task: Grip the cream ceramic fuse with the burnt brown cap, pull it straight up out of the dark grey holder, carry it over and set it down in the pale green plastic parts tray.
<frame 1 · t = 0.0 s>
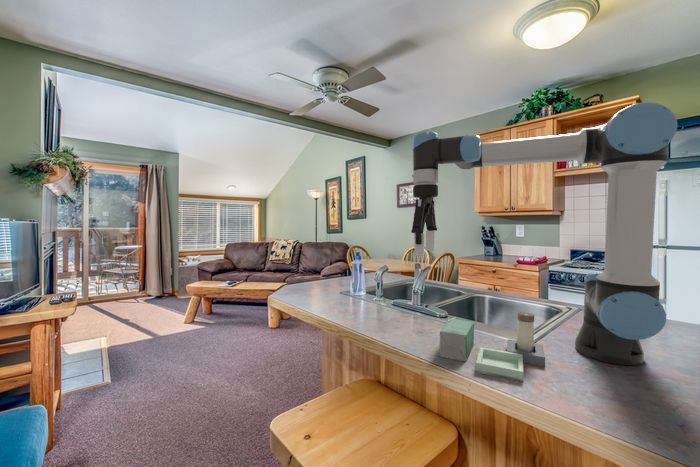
hand: (425, 252, 100), 28 cm above the counter, fingers open, 13 cm apart
tray: (499, 367, 83), on the counter
box: (457, 350, 94), on the counter
holder: (524, 356, 89), on the counter
fuse: (525, 335, 89), in the holder
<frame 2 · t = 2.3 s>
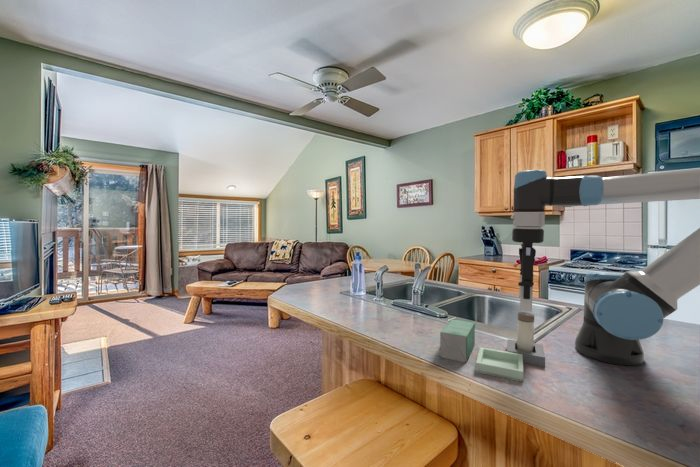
hand: (525, 304, 88), 15 cm above the counter, fingers open, 13 cm apart
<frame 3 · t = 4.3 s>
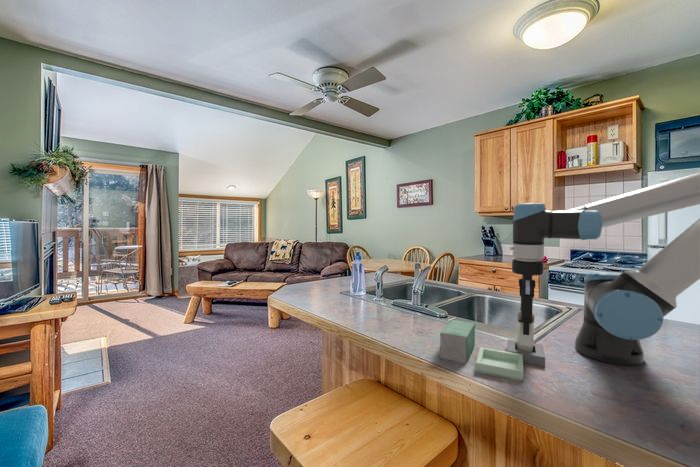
hand: (525, 341, 89), 4 cm above the counter, fingers closed on fuse, 4 cm apart
fuse: (525, 335, 89), in the holder, touching gripper
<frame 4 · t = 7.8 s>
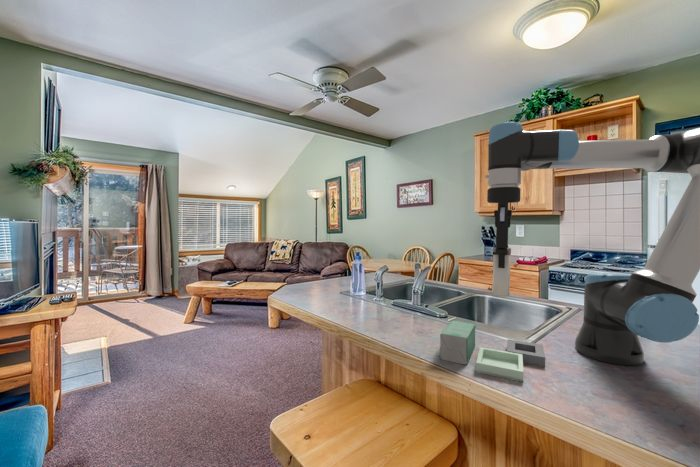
hand: (501, 278, 81), 24 cm above the counter, fingers closed on fuse, 4 cm apart
fuse: (501, 271, 81), point 25 cm above the counter, touching gripper
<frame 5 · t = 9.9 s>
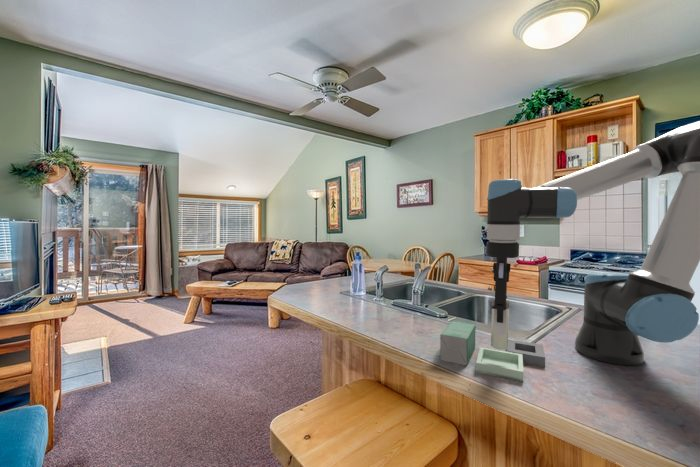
hand: (500, 330, 82), 10 cm above the counter, fingers closed on fuse, 4 cm apart
fuse: (499, 323, 82), point 12 cm above the counter, touching gripper
when the fingers open (6 cm above the counter, at t = 11.4 s): fuse drops 1 cm, resting on tray.
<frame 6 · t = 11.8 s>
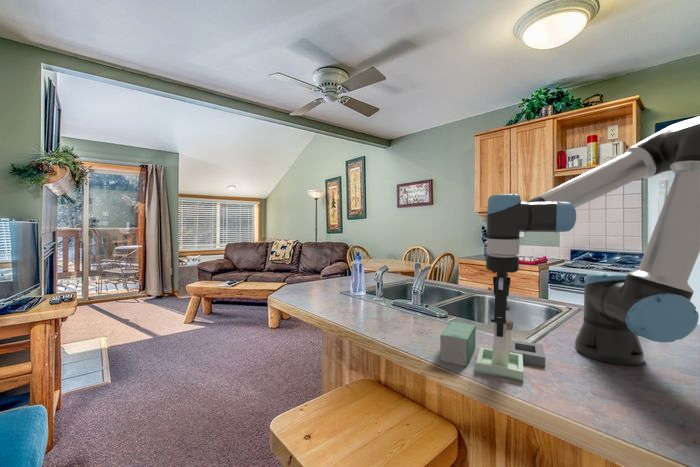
hand: (500, 340, 82), 7 cm above the counter, fingers open, 9 cm apart
fuse: (502, 343, 82), in the tray, point 7 cm above the counter
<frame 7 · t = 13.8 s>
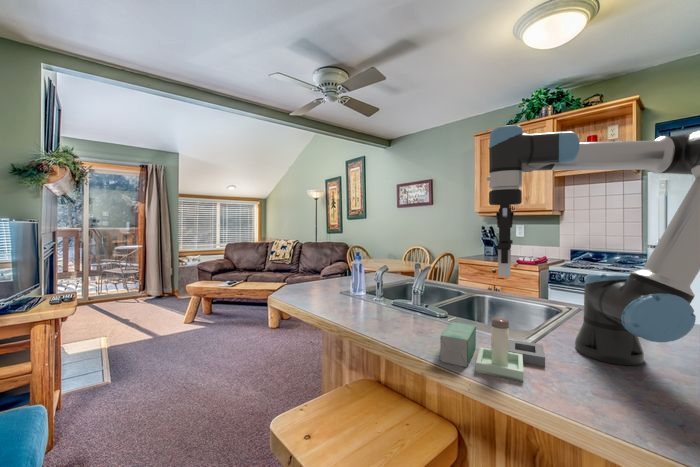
hand: (504, 271, 82), 25 cm above the counter, fingers open, 13 cm apart
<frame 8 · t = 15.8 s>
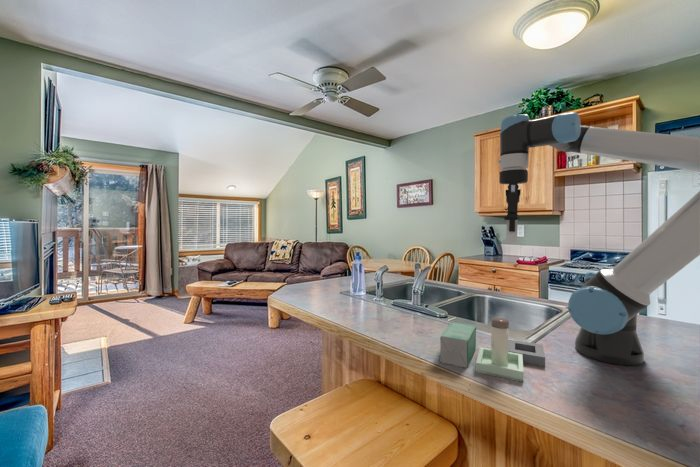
hand: (511, 241, 96), 32 cm above the counter, fingers open, 13 cm apart
at the end: fuse inside the target area on the tray (0.0 cm from its centre), point 6.6 cm above the tray's base; the gripper is holding nothing; fuse touching tray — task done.
